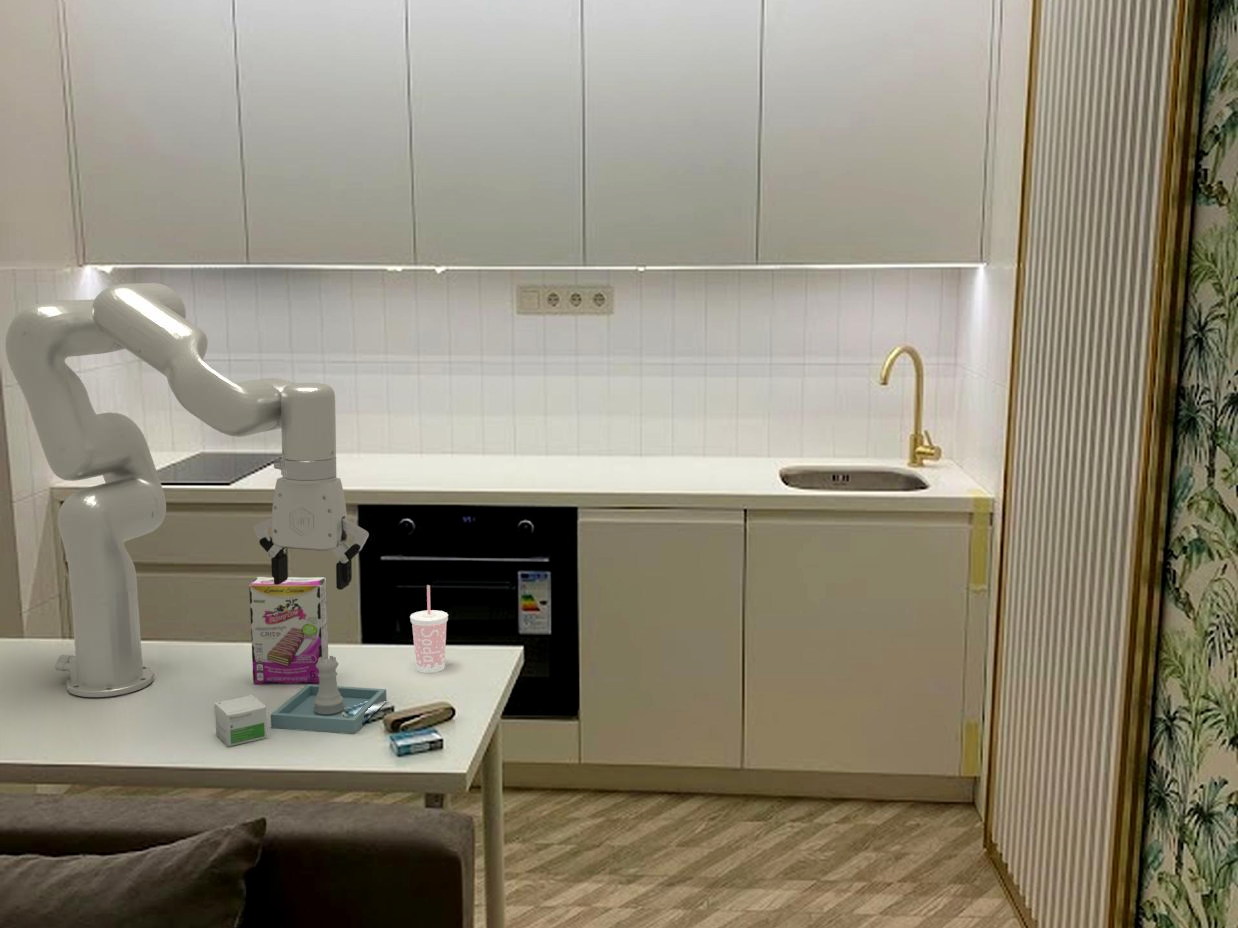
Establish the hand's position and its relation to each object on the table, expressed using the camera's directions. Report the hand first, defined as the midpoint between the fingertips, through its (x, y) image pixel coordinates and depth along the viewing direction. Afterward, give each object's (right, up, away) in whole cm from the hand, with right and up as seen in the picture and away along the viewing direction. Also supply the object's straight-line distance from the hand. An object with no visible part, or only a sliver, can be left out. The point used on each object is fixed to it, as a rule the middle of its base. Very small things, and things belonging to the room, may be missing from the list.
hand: (311, 584), depth 175 cm
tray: (+2, -19, +1) cm, 19 cm away
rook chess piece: (+2, -19, +1) cm, 19 cm away
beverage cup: (+14, -16, +21) cm, 30 cm away
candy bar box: (-7, -17, +16) cm, 24 cm away
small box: (-8, -21, -7) cm, 23 cm away
